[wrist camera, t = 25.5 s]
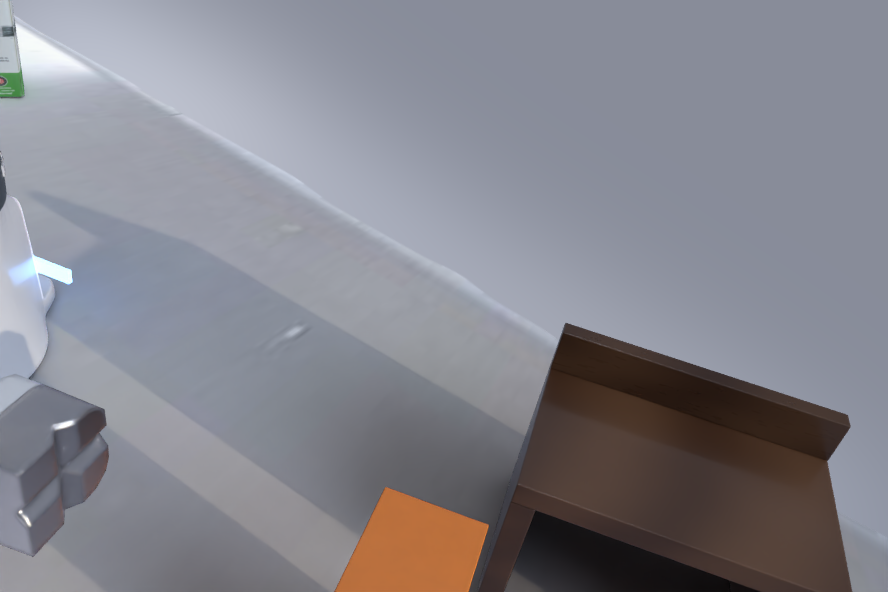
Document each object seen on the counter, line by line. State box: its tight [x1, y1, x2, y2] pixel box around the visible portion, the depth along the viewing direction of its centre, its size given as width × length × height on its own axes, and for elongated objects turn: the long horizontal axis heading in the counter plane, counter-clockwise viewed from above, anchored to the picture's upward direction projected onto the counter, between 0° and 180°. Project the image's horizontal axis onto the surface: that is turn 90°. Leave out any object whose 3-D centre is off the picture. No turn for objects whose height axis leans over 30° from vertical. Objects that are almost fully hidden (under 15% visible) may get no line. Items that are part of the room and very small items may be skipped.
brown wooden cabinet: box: [477, 323, 852, 592], centre depth 40 cm, size 15×10×12 cm, turn 74°
